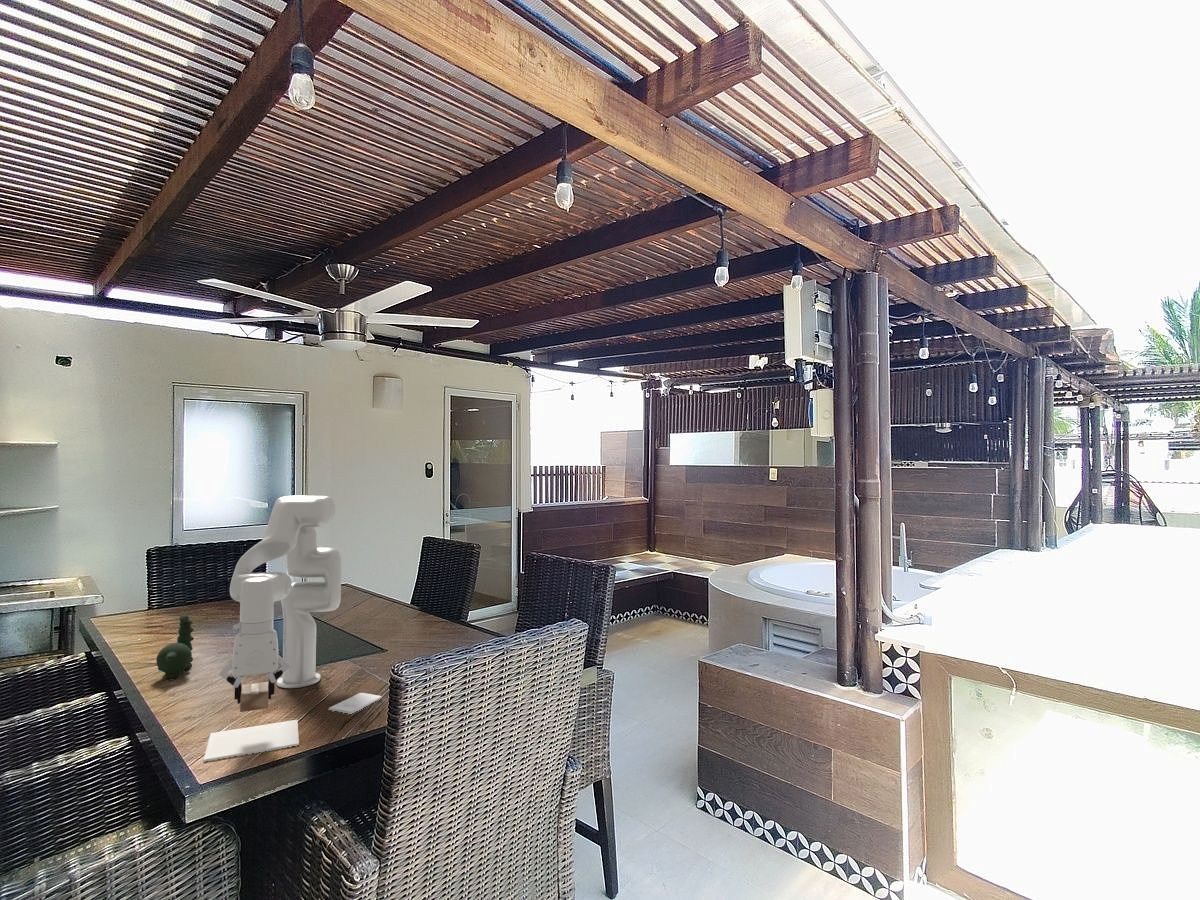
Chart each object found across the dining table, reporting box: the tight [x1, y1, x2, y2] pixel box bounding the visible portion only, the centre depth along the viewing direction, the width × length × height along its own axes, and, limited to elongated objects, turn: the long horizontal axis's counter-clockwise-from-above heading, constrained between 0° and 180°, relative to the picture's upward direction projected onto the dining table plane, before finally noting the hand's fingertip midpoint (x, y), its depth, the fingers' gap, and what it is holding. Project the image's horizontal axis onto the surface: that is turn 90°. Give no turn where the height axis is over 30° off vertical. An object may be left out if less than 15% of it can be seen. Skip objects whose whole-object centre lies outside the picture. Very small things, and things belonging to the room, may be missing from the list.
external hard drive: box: [328, 692, 383, 715], centre depth 181 cm, size 2×8×12 cm
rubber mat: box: [203, 719, 300, 763], centre depth 157 cm, size 16×20×1 cm
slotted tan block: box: [239, 681, 269, 713], centre depth 157 cm, size 6×10×4 cm, turn 28°
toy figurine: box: [155, 613, 194, 681], centre depth 207 cm, size 9×19×25 cm
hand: (254, 699), depth 157 cm, fingers closed on slotted tan block, 6 cm apart
